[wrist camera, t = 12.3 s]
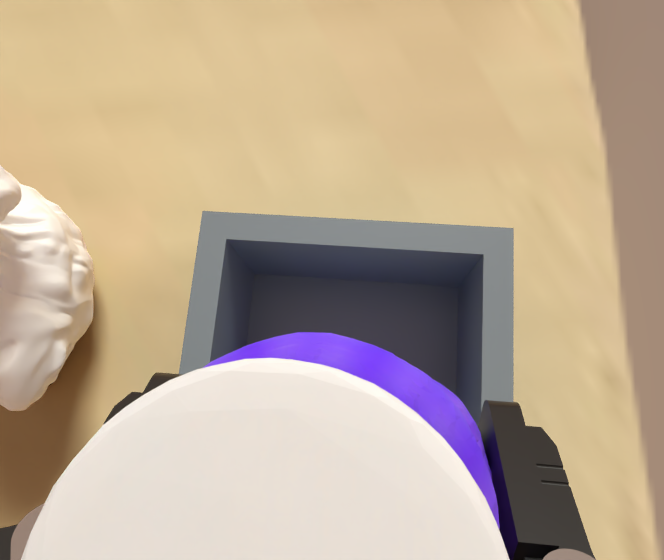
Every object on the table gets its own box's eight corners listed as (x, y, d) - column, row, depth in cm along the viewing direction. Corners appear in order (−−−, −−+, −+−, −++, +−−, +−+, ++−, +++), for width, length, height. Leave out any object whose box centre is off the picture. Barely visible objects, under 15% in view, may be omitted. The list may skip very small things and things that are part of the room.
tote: (192, 639, 21) (126, 726, 15) (240, 257, 25) (202, 211, 19) (470, 672, 20) (512, 778, 15) (477, 271, 24) (513, 228, 18)
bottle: (438, 387, 21) (721, 292, 4) (430, 540, 20) (791, 1261, 3) (260, 369, 22) (-98, 225, 5) (240, 516, 20) (-338, 1006, 4)
